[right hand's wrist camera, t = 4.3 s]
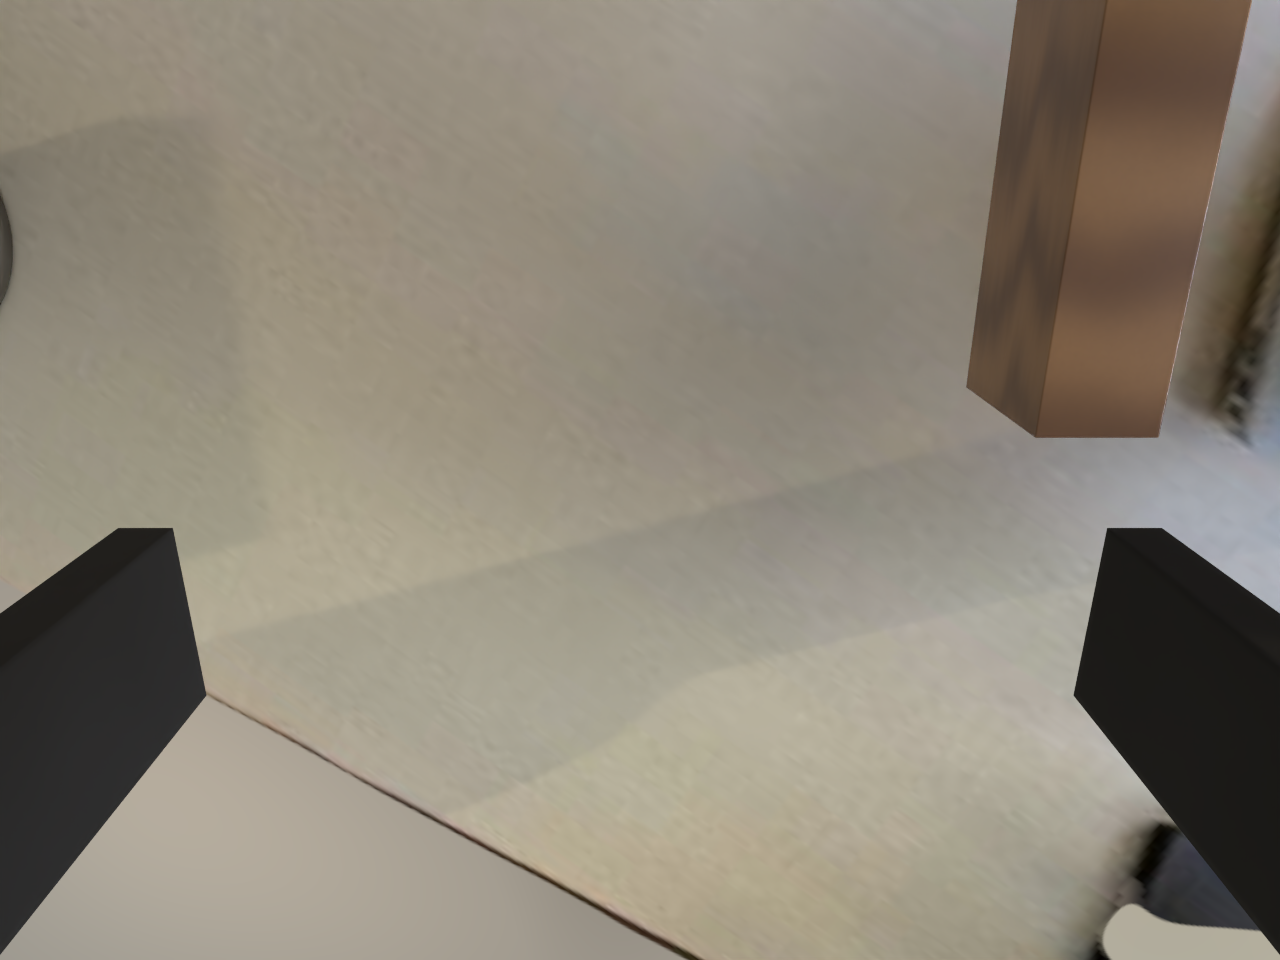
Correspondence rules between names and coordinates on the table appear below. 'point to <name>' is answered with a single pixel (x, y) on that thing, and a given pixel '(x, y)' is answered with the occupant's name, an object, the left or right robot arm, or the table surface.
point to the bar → (1100, 208)
